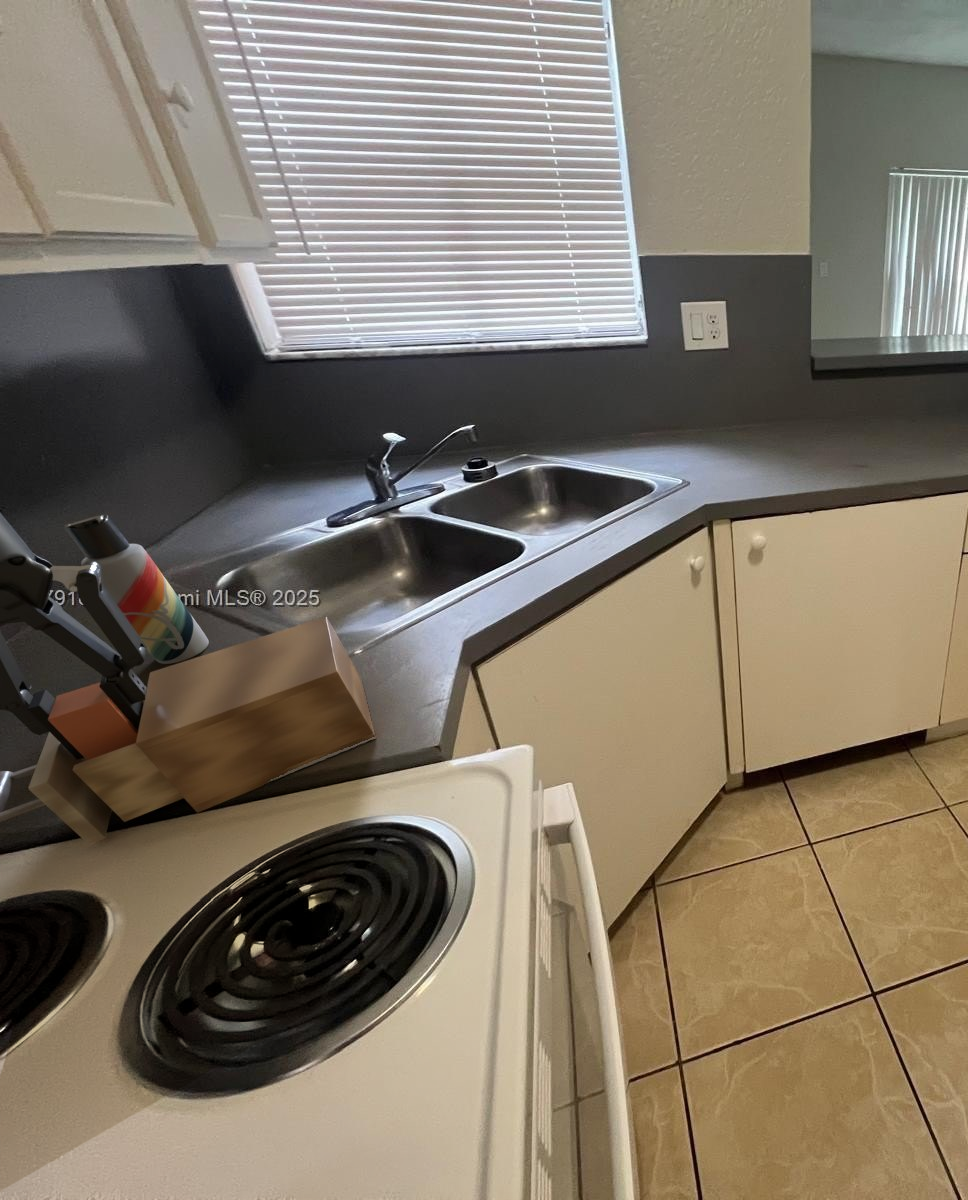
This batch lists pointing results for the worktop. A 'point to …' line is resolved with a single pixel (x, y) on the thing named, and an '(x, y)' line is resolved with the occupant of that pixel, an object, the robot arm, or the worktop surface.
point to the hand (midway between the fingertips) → (117, 737)
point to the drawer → (91, 787)
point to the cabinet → (252, 712)
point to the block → (92, 722)
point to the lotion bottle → (139, 591)
